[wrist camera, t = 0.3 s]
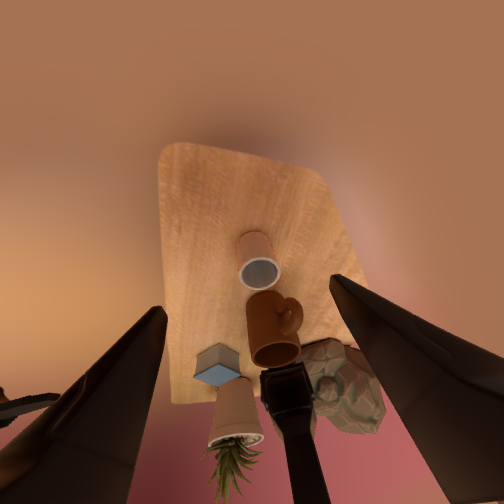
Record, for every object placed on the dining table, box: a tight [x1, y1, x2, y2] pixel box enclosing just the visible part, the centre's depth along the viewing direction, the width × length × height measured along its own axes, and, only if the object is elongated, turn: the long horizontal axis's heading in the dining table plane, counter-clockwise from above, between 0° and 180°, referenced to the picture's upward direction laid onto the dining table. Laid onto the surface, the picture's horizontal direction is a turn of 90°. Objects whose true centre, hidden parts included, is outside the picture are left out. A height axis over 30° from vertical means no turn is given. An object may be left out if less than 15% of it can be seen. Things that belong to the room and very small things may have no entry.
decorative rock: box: [295, 338, 386, 434], centre depth 43 cm, size 27×22×15 cm
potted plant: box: [201, 377, 264, 504], centre depth 42 cm, size 13×14×20 cm
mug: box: [246, 292, 303, 368], centre depth 29 cm, size 12×8×9 cm, turn 159°
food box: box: [193, 343, 241, 387], centre depth 40 cm, size 7×7×4 cm
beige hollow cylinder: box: [237, 231, 281, 290], centre depth 24 cm, size 5×5×6 cm
